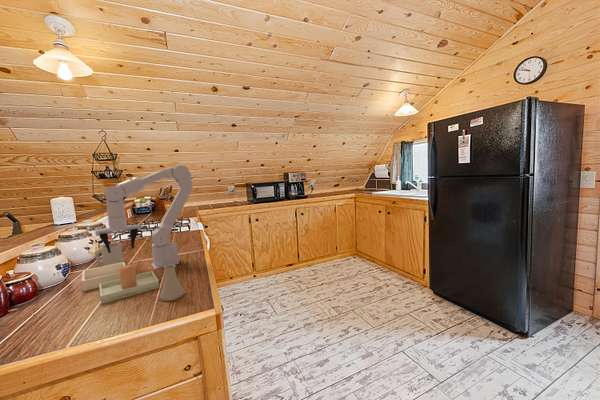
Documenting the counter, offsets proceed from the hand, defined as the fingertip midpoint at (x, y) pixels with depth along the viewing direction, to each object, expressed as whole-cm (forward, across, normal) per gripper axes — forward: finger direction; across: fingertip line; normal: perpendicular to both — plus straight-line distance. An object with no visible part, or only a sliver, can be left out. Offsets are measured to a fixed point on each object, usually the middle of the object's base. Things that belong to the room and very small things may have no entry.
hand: (121, 250), depth 103 cm
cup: (+10, +4, -15) cm, 18 cm away
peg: (+8, 0, +20) cm, 22 cm away
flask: (+10, -10, +36) cm, 39 cm away
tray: (+9, 0, +20) cm, 22 cm away
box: (+9, +6, +5) cm, 12 cm away
